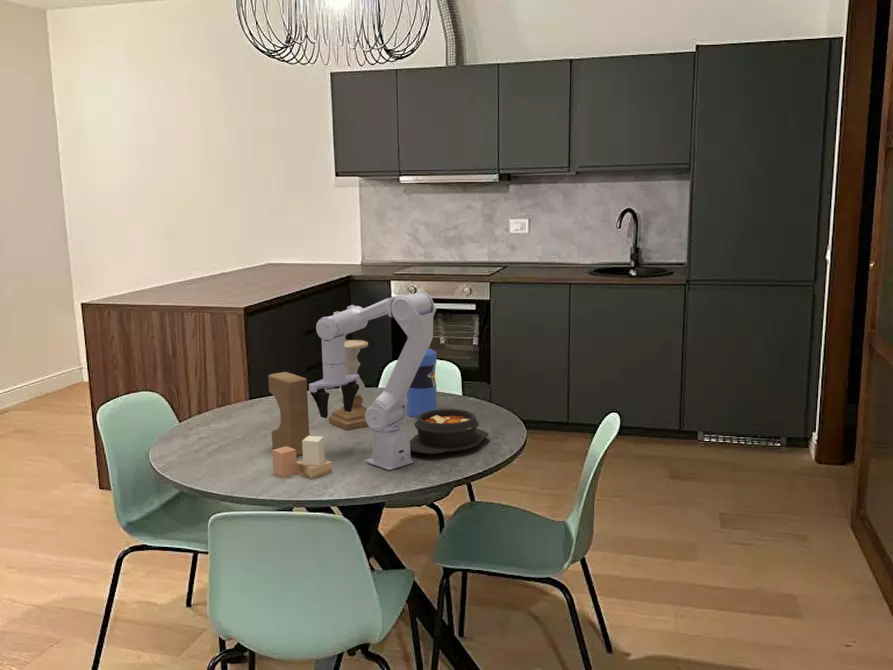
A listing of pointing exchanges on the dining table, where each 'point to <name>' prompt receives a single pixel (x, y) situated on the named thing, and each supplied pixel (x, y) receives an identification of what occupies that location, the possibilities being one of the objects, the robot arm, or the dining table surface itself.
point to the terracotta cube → (284, 461)
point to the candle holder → (358, 411)
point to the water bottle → (423, 387)
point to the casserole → (446, 432)
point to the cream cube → (313, 450)
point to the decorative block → (290, 410)
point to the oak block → (314, 469)
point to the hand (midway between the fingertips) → (336, 414)
